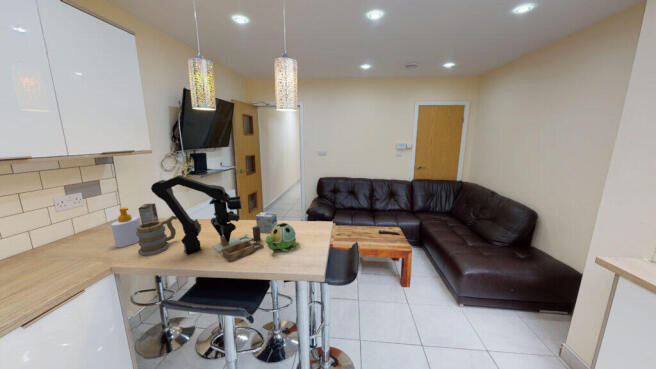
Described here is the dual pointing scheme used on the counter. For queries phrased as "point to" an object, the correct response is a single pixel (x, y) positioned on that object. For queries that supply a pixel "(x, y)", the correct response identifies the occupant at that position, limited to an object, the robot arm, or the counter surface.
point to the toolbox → (240, 250)
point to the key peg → (256, 234)
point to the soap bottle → (125, 229)
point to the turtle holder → (281, 237)
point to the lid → (230, 242)
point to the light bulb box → (266, 221)
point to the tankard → (154, 236)
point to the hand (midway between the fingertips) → (224, 239)
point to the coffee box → (148, 213)
